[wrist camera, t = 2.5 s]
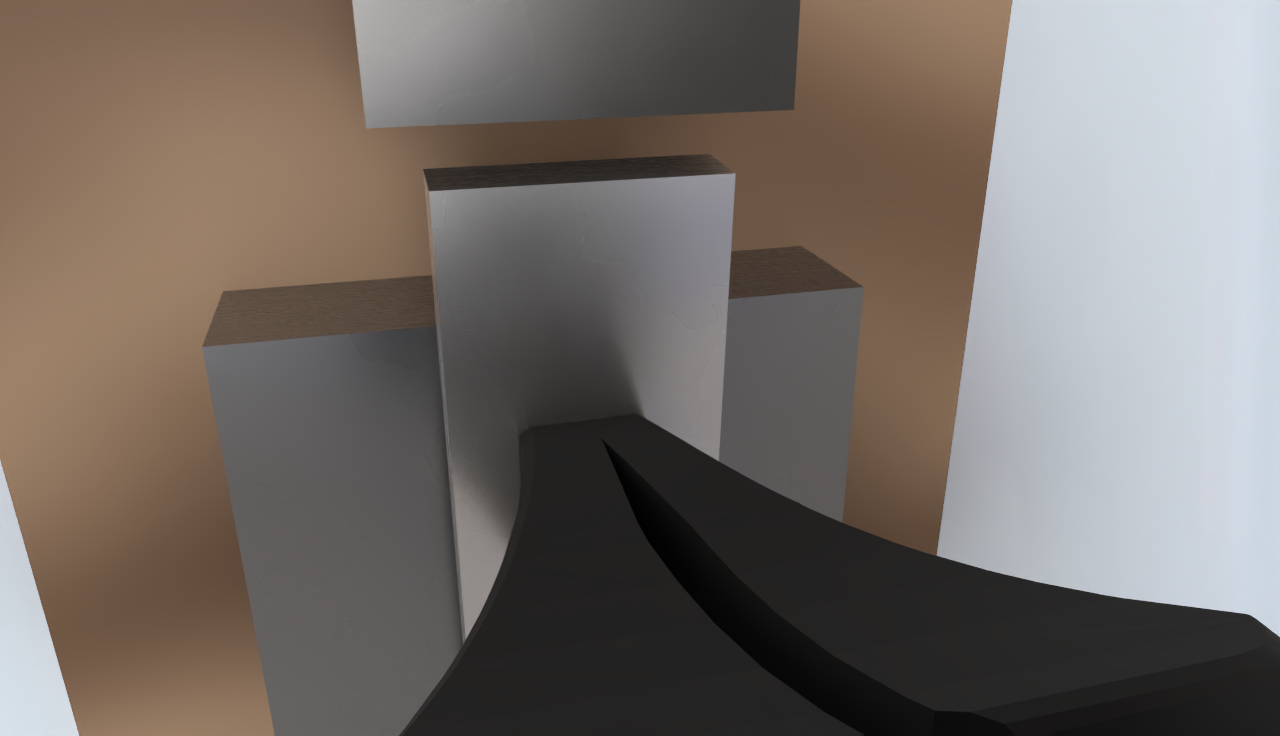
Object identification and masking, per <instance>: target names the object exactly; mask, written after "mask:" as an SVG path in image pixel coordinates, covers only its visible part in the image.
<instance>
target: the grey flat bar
mask: <svg viewBox="0 0 1280 736" xmlns="http://www.w3.org/2000/svg"><path fill="white" fill-rule="evenodd" d="M423 176H424V188H425V199H426V211H427V223H428V235H429V247H430V259H431V271H432V283H433V295H434V307H435V319H436V330H437V342H438V354H439V366H440V378H441V390H442V402H443V414H444V426H445V438H446V450H447V461H448V473H449V485H450V497H451V509H452V521H453V533H454V545H455V557H456V569H457V581H458V592H459V604H460V616H461V628H462V640H463V644H464V642H465V640H466V638H467V636H468V635H469V633H470V631H471V629H472V627H473V625H474V624H475V622H476V620H477V618H478V616H479V614H480V612H481V610H482V608H483V606H484V604H485V602H486V600H487V598H488V595H489V593H490V591H491V589H492V587H493V584H494V582H495V579H496V577H497V574H498V572H499V569H500V567H501V564H502V561H503V558H504V555H505V552H506V549H507V546H508V542H509V539H510V536H511V532H512V529H513V526H514V522H515V519H516V515H517V511H518V505H519V499H520V493H521V479H520V458H519V437H520V436H521V435H522V434H523V433H524V432H525V431H526V429H527V428H528V427H537V426H546V425H555V424H563V423H571V422H580V421H588V420H597V419H605V418H612V417H620V416H628V415H636V414H638V415H640V416H642V417H644V418H646V419H648V420H649V421H651V422H653V423H655V424H656V425H658V426H660V427H662V428H663V429H665V430H667V431H668V432H670V433H672V434H673V435H675V436H677V437H679V438H680V439H682V440H684V441H685V442H687V443H689V444H690V445H692V446H694V447H695V448H697V449H699V450H700V451H702V452H704V453H706V454H707V455H709V456H711V457H712V458H714V459H716V460H718V461H719V448H720V431H721V414H722V397H723V380H724V363H725V346H726V329H727V312H728V295H729V278H730V261H731V244H732V227H733V210H734V193H735V176H736V173H735V172H733V171H732V170H731V169H729V168H728V167H727V166H725V165H724V164H723V163H721V162H720V161H719V160H717V159H716V158H715V157H714V156H712V155H711V154H694V155H676V156H657V157H638V158H620V159H601V160H582V161H563V162H545V163H526V164H507V165H489V166H470V167H451V168H432V169H423Z"/></svg>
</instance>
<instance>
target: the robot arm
mask: <svg viewBox="0 0 1280 736" xmlns="http://www.w3.org/2000/svg"><path fill="white" fill-rule="evenodd" d="M519 458H520V479H521V493H520V499H519V505H518V511H517V515H516V519H515V522H514V526H513V529H512V532H511V536H510V539H509V542H508V546H507V549H506V552H505V555H504V558H503V561H502V564H501V567H500V569H499V572H498V574H497V577H496V579H495V582H494V584H493V587H492V589H491V591H490V593H489V595H488V598H487V600H486V602H485V604H484V606H483V608H482V610H481V612H480V614H479V616H478V618H477V620H476V622H475V624H474V625H473V627H472V629H471V631H470V633H469V635H468V636H467V638H466V640H465V642H464V644H463V645H462V647H461V649H460V651H459V652H458V654H457V656H456V657H455V659H454V660H453V662H452V664H451V665H450V667H449V668H448V670H447V671H446V673H445V675H444V676H443V677H442V679H441V680H440V681H439V683H438V684H437V685H436V687H435V688H434V689H433V691H432V692H431V694H430V695H429V696H428V698H427V699H426V700H425V702H424V703H423V704H422V706H421V707H420V708H419V710H418V711H417V713H416V714H415V715H414V717H413V718H412V719H411V721H410V722H409V723H408V725H407V726H406V727H405V729H404V730H403V731H402V732H401V733H400V735H399V736H1280V637H1279V636H1277V635H1276V634H1275V633H1274V632H1272V631H1271V630H1270V629H1268V628H1267V627H1266V626H1264V625H1263V624H1262V623H1261V622H1259V621H1258V620H1257V619H1255V618H1254V617H1252V616H1250V615H1248V614H1241V613H1234V612H1226V611H1218V610H1210V609H1202V608H1194V607H1187V606H1179V605H1171V604H1163V603H1155V602H1148V601H1140V600H1132V599H1124V598H1118V597H1112V596H1106V595H1100V594H1095V593H1090V592H1085V591H1080V590H1075V589H1070V588H1064V587H1059V586H1054V585H1049V584H1044V583H1039V582H1034V581H1030V580H1026V579H1021V578H1017V577H1013V576H1009V575H1004V574H1000V573H996V572H992V571H988V570H984V569H981V568H977V567H974V566H970V565H967V564H963V563H960V562H956V561H953V560H949V559H946V558H942V557H938V556H935V555H931V554H928V553H925V552H922V551H919V550H916V549H913V548H910V547H907V546H903V545H900V544H898V543H895V542H892V541H889V540H887V539H884V538H881V537H879V536H876V535H873V534H871V533H868V532H866V531H863V530H860V529H858V528H855V527H852V526H850V525H847V524H845V523H842V522H840V521H837V520H835V519H833V518H830V517H828V516H826V515H823V514H821V513H819V512H816V511H814V510H812V509H810V508H808V507H806V506H804V505H802V504H800V503H798V502H795V501H793V500H791V499H789V498H787V497H785V496H783V495H781V494H779V493H777V492H775V491H773V490H771V489H769V488H767V487H765V486H763V485H761V484H759V483H757V482H755V481H754V480H752V479H750V478H748V477H746V476H744V475H742V474H741V473H739V472H737V471H735V470H733V469H732V468H730V467H728V466H726V465H725V464H723V463H721V462H719V461H718V460H716V459H714V458H712V457H711V456H709V455H707V454H706V453H704V452H702V451H700V450H699V449H697V448H695V447H694V446H692V445H690V444H689V443H687V442H685V441H684V440H682V439H680V438H679V437H677V436H675V435H673V434H672V433H670V432H668V431H667V430H665V429H663V428H662V427H660V426H658V425H656V424H655V423H653V422H651V421H649V420H648V419H646V418H644V417H642V416H640V415H638V414H636V415H628V416H620V417H612V418H605V419H597V420H588V421H580V422H571V423H563V424H555V425H546V426H537V427H528V428H527V429H526V431H525V432H524V433H523V434H522V435H521V436H520V437H519Z"/></svg>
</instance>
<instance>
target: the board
mask: <svg viewBox="0 0 1280 736" xmlns="http://www.w3.org/2000/svg"><path fill="white" fill-rule="evenodd" d="M1011 6H1012V0H800V17H799V34H798V52H797V69H796V86H795V103H794V110H783V111H759V112H736V113H713V114H690V115H667V116H644V117H620V118H597V119H574V120H551V121H528V122H505V123H481V124H458V125H435V126H412V127H389V128H366V124H365V115H364V106H363V96H362V87H361V78H360V69H359V59H358V50H357V41H356V31H355V22H354V13H353V4H352V0H0V460H1V464H2V467H3V471H4V474H5V478H6V481H7V485H8V488H9V491H10V495H11V498H12V502H13V505H14V509H15V512H16V516H17V519H18V523H19V526H20V530H21V533H22V537H23V540H24V544H25V547H26V551H27V554H28V558H29V561H30V565H31V568H32V572H33V575H34V579H35V582H36V586H37V589H38V593H39V596H40V600H41V603H42V607H43V610H44V614H45V617H46V621H47V624H48V627H49V631H50V634H51V638H52V641H53V645H54V648H55V652H56V655H57V659H58V662H59V666H60V669H61V673H62V676H63V680H64V683H65V687H66V690H67V694H68V697H69V701H70V704H71V708H72V711H73V715H74V718H75V722H76V725H77V729H78V732H79V736H275V734H274V729H273V724H272V718H271V713H270V708H269V702H268V697H267V692H266V686H265V681H264V676H263V670H262V665H261V660H260V654H259V649H258V644H257V638H256V633H255V628H254V622H253V617H252V612H251V606H250V601H249V596H248V590H247V585H246V580H245V574H244V569H243V564H242V558H241V553H240V548H239V542H238V537H237V532H236V526H235V521H234V516H233V510H232V505H231V500H230V494H229V489H228V484H227V478H226V473H225V468H224V462H223V457H222V452H221V446H220V441H219V436H218V430H217V425H216V420H215V414H214V409H213V404H212V398H211V393H210V388H209V382H208V377H207V372H206V366H205V361H204V356H203V350H202V346H203V343H204V340H205V338H206V335H207V332H208V330H209V327H210V324H211V322H212V319H213V316H214V314H215V311H216V308H217V306H218V303H219V300H220V298H221V295H222V292H223V291H235V290H247V289H260V288H273V287H285V286H298V285H311V284H323V283H336V282H349V281H361V280H374V279H387V278H400V277H412V276H425V275H432V271H431V259H430V247H429V235H428V223H427V211H426V199H425V188H424V176H423V169H432V168H451V167H470V166H489V165H507V164H526V163H545V162H563V161H582V160H601V159H620V158H638V157H657V156H676V155H694V154H711V155H712V156H714V157H715V158H716V159H717V160H719V161H720V162H721V163H723V164H724V165H725V166H727V167H728V168H729V169H731V170H732V171H733V172H735V173H736V176H735V193H734V210H733V227H732V244H731V251H742V250H755V249H768V248H780V247H793V246H802V247H804V248H805V249H807V250H808V251H810V252H811V253H813V254H814V255H816V256H817V257H819V258H820V259H822V260H823V261H825V262H827V263H828V264H830V265H831V266H833V267H834V268H836V269H837V270H839V271H840V272H842V273H843V274H845V275H846V276H848V277H849V278H851V279H852V280H854V281H856V282H857V283H859V284H860V285H862V286H863V287H864V290H863V301H862V312H861V323H860V334H859V345H858V356H857V367H856V378H855V389H854V399H853V410H852V421H851V432H850V443H849V454H848V465H847V476H846V487H845V498H844V509H843V520H842V523H845V524H847V525H850V526H852V527H855V528H858V529H860V530H863V531H866V532H868V533H871V534H873V535H876V536H879V537H881V538H884V539H887V540H889V541H892V542H895V543H898V544H900V545H903V546H907V547H910V548H913V549H916V550H919V551H922V552H925V553H928V554H931V555H935V556H936V555H937V547H938V540H939V533H940V526H941V518H942V511H943V504H944V496H945V489H946V482H947V474H948V467H949V460H950V452H951V445H952V438H953V430H954V423H955V416H956V409H957V401H958V394H959V387H960V379H961V372H962V365H963V357H964V350H965V343H966V335H967V328H968V321H969V313H970V306H971V299H972V291H973V284H974V277H975V270H976V262H977V255H978V248H979V240H980V233H981V226H982V218H983V211H984V204H985V196H986V189H987V182H988V174H989V167H990V160H991V152H992V145H993V138H994V131H995V123H996V116H997V109H998V101H999V94H1000V87H1001V79H1002V72H1003V65H1004V57H1005V50H1006V43H1007V35H1008V28H1009V21H1010V13H1011Z"/></svg>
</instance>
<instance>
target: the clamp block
mask: <svg viewBox="0 0 1280 736" xmlns="http://www.w3.org/2000/svg"><path fill="white" fill-rule="evenodd" d="M352 4H353V13H354V22H355V31H356V41H357V50H358V59H359V69H360V78H361V87H362V96H363V106H364V115H365V124H366V128H389V127H412V126H435V125H458V124H481V123H505V122H528V121H551V120H574V119H597V118H620V117H644V116H667V115H690V114H713V113H736V112H759V111H783V110H794V103H795V86H796V69H797V52H798V34H799V17H800V0H352ZM863 290H864V287H863V286H862V285H860V284H859V283H857V282H856V281H854V280H852V279H851V278H849V277H848V276H846V275H845V274H843V273H842V272H840V271H839V270H837V269H836V268H834V267H833V266H831V265H830V264H828V263H827V262H825V261H823V260H822V259H820V258H819V257H817V256H816V255H814V254H813V253H811V252H810V251H808V250H807V249H805V248H804V247H802V246H793V247H780V248H768V249H755V250H742V251H731V261H730V278H729V295H728V312H727V329H726V346H725V363H724V380H723V397H722V414H721V431H720V448H719V462H721V463H723V464H725V465H726V466H728V467H730V468H732V469H733V470H735V471H737V472H739V473H741V474H742V475H744V476H746V477H748V478H750V479H752V480H754V481H755V482H757V483H759V484H761V485H763V486H765V487H767V488H769V489H771V490H773V491H775V492H777V493H779V494H781V495H783V496H785V497H787V498H789V499H791V500H793V501H795V502H798V503H800V504H802V505H804V506H806V507H808V508H810V509H812V510H814V511H816V512H819V513H821V514H823V515H826V516H828V517H830V518H833V519H835V520H837V521H840V522H842V520H843V509H844V498H845V487H846V476H847V465H848V454H849V443H850V432H851V421H852V410H853V399H854V389H855V378H856V367H857V356H858V345H859V334H860V323H861V312H862V301H863ZM202 350H203V356H204V361H205V366H206V372H207V377H208V382H209V388H210V393H211V398H212V404H213V409H214V414H215V420H216V425H217V430H218V436H219V441H220V446H221V452H222V457H223V462H224V468H225V473H226V478H227V484H228V489H229V494H230V500H231V505H232V510H233V516H234V521H235V526H236V532H237V537H238V542H239V548H240V553H241V558H242V564H243V569H244V574H245V580H246V585H247V590H248V596H249V601H250V606H251V612H252V617H253V622H254V628H255V633H256V638H257V644H258V649H259V654H260V660H261V665H262V670H263V676H264V681H265V686H266V692H267V697H268V702H269V708H270V713H271V718H272V724H273V729H274V734H275V736H399V735H400V733H401V732H402V731H403V730H404V729H405V727H406V726H407V725H408V723H409V722H410V721H411V719H412V718H413V717H414V715H415V714H416V713H417V711H418V710H419V708H420V707H421V706H422V704H423V703H424V702H425V700H426V699H427V698H428V696H429V695H430V694H431V692H432V691H433V689H434V688H435V687H436V685H437V684H438V683H439V681H440V680H441V679H442V677H443V676H444V675H445V673H446V671H447V670H448V668H449V667H450V665H451V664H452V662H453V660H454V659H455V657H456V656H457V654H458V652H459V651H460V649H461V647H462V645H463V640H462V628H461V616H460V604H459V592H458V581H457V569H456V557H455V545H454V533H453V521H452V509H451V497H450V485H449V473H448V461H447V450H446V438H445V426H444V414H443V402H442V390H441V378H440V366H439V354H438V342H437V330H436V319H435V307H434V295H433V283H432V275H425V276H412V277H400V278H387V279H374V280H361V281H349V282H336V283H323V284H311V285H298V286H285V287H273V288H260V289H247V290H235V291H223V292H222V295H221V298H220V300H219V303H218V306H217V308H216V311H215V314H214V316H213V319H212V322H211V324H210V327H209V330H208V332H207V335H206V338H205V340H204V343H203V346H202Z"/></svg>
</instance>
